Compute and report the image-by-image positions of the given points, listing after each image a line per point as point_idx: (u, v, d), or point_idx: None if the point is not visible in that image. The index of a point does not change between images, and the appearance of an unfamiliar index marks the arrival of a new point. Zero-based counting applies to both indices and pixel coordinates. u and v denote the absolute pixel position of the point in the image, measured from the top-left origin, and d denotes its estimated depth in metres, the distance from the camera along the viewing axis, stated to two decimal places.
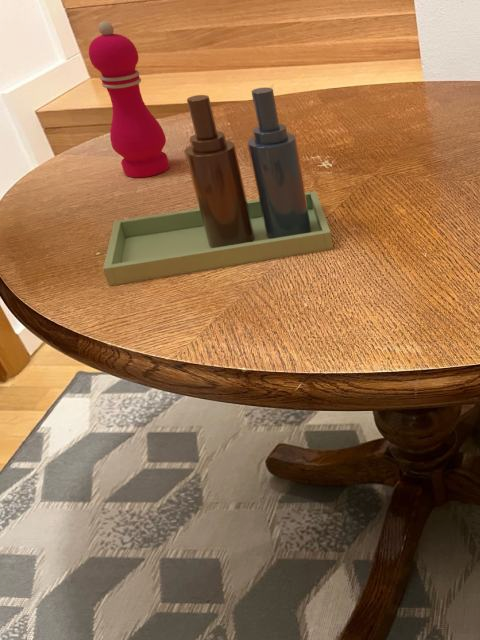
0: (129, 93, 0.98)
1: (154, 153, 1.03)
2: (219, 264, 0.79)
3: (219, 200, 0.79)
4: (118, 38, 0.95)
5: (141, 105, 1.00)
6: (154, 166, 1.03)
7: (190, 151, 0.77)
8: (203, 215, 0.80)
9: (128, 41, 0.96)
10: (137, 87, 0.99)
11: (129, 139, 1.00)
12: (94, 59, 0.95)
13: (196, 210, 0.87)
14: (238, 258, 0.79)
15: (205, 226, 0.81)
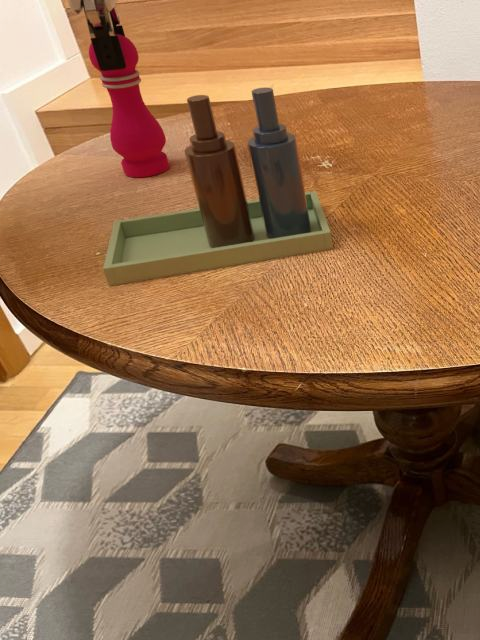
0: (129, 93, 0.98)
1: (154, 153, 1.03)
2: (219, 264, 0.79)
3: (219, 200, 0.79)
4: None
5: (141, 105, 1.00)
6: (154, 166, 1.03)
7: (190, 151, 0.77)
8: (203, 215, 0.80)
9: (128, 41, 0.96)
10: (137, 87, 0.99)
11: (129, 139, 1.00)
12: (94, 59, 0.95)
13: (196, 210, 0.87)
14: (238, 258, 0.79)
15: (205, 226, 0.81)
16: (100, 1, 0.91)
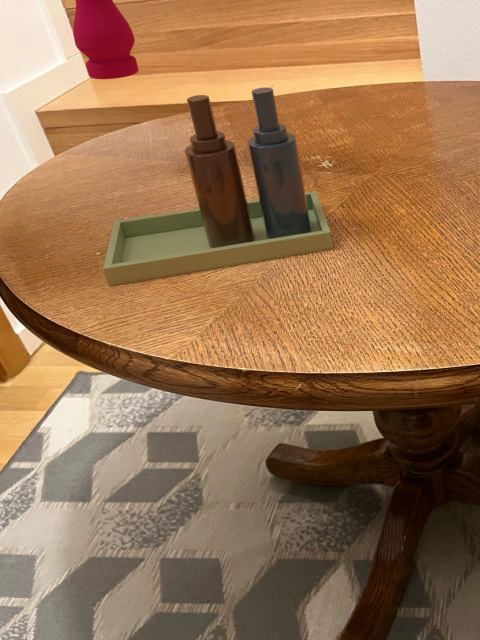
0: None
1: (121, 53, 0.95)
2: (219, 264, 0.79)
3: (219, 200, 0.79)
4: None
5: None
6: (121, 67, 0.95)
7: (190, 151, 0.77)
8: (203, 215, 0.80)
9: None
10: None
11: (93, 33, 0.92)
12: None
13: (196, 210, 0.87)
14: (238, 258, 0.79)
15: (205, 226, 0.81)
16: None
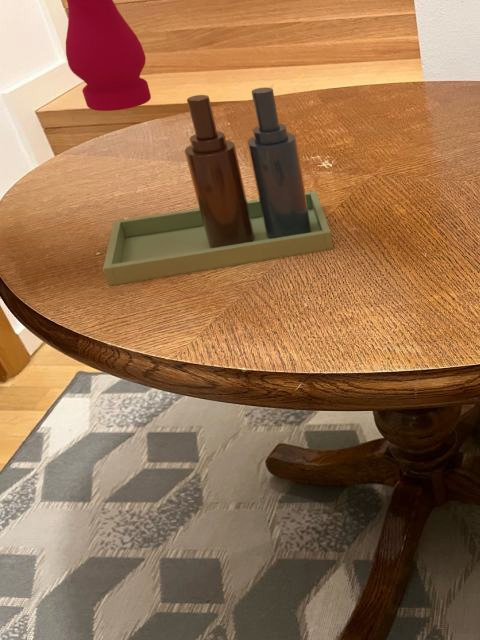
0: None
1: (129, 77, 0.73)
2: (219, 264, 0.79)
3: (219, 200, 0.79)
4: None
5: (110, 4, 0.70)
6: (129, 95, 0.73)
7: (190, 151, 0.77)
8: (203, 215, 0.80)
9: None
10: None
11: (91, 52, 0.70)
12: None
13: (196, 210, 0.87)
14: (238, 258, 0.79)
15: (205, 226, 0.81)
16: None
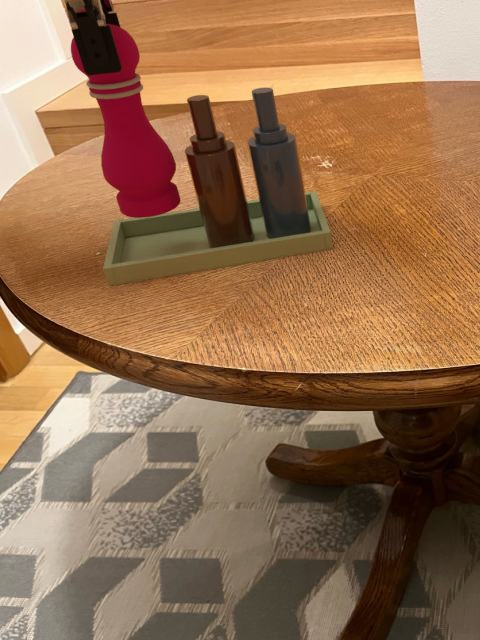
0: (126, 105, 0.72)
1: (160, 186, 0.76)
2: (219, 264, 0.79)
3: (219, 200, 0.79)
4: (111, 29, 0.69)
5: (144, 121, 0.74)
6: (160, 203, 0.77)
7: (190, 151, 0.77)
8: (203, 215, 0.80)
9: (125, 34, 0.70)
10: (138, 97, 0.73)
11: (126, 167, 0.73)
12: (78, 59, 0.68)
13: (196, 210, 0.87)
14: (238, 258, 0.79)
15: (205, 226, 0.81)
16: None
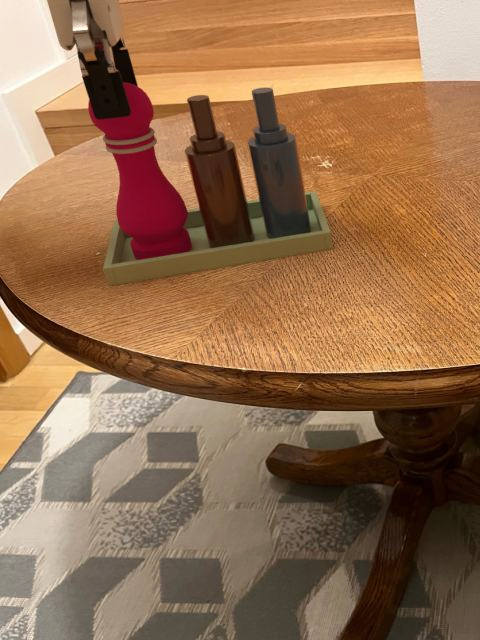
0: (141, 159, 0.75)
1: (173, 233, 0.79)
2: (219, 264, 0.79)
3: (219, 200, 0.79)
4: (127, 88, 0.72)
5: (157, 173, 0.77)
6: (173, 249, 0.80)
7: (190, 151, 0.77)
8: (203, 215, 0.80)
9: (140, 92, 0.73)
10: (152, 150, 0.76)
11: (141, 217, 0.77)
12: None
13: (196, 210, 0.87)
14: (238, 258, 0.79)
15: (205, 226, 0.81)
16: (100, 33, 0.67)
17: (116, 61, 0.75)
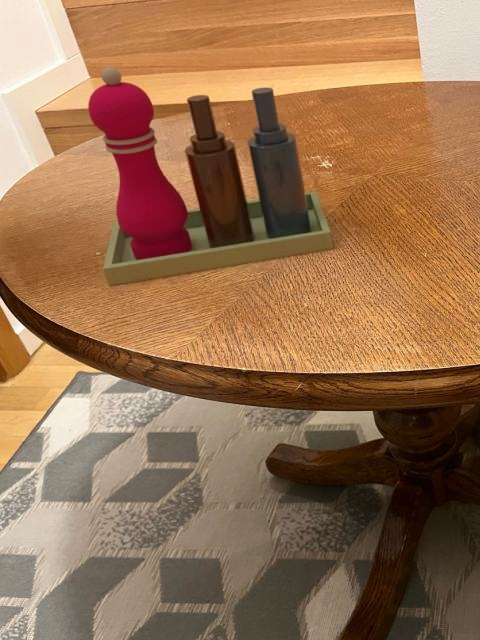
0: (141, 159, 0.75)
1: (173, 233, 0.79)
2: (219, 264, 0.79)
3: (219, 200, 0.79)
4: (127, 88, 0.72)
5: (157, 172, 0.77)
6: (173, 249, 0.80)
7: (190, 151, 0.77)
8: (203, 215, 0.80)
9: (141, 92, 0.73)
10: (152, 150, 0.76)
11: (141, 217, 0.77)
12: (95, 117, 0.71)
13: (196, 210, 0.87)
14: (238, 258, 0.79)
15: (205, 226, 0.81)
16: None
17: None
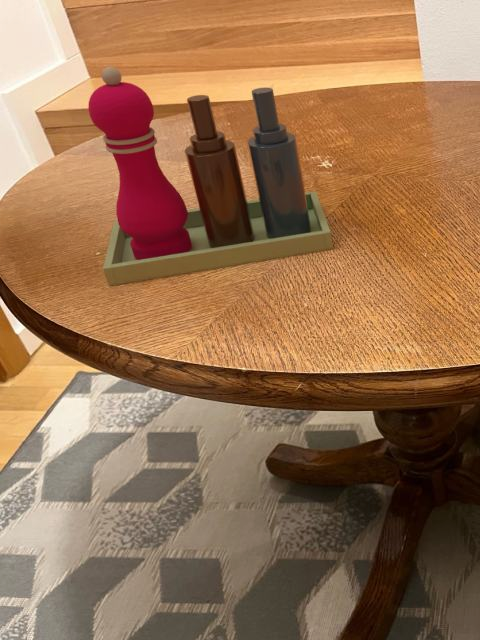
0: (141, 159, 0.75)
1: (173, 233, 0.79)
2: (219, 264, 0.79)
3: (219, 200, 0.79)
4: (127, 88, 0.72)
5: (157, 172, 0.77)
6: (173, 249, 0.80)
7: (190, 151, 0.77)
8: (203, 215, 0.80)
9: (141, 92, 0.73)
10: (152, 150, 0.76)
11: (141, 217, 0.77)
12: (95, 117, 0.71)
13: (196, 210, 0.87)
14: (238, 258, 0.79)
15: (205, 226, 0.81)
16: None
17: None
